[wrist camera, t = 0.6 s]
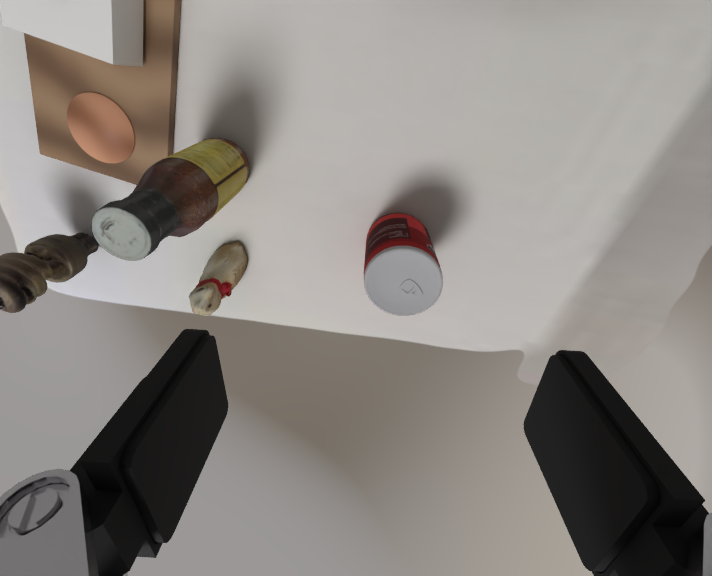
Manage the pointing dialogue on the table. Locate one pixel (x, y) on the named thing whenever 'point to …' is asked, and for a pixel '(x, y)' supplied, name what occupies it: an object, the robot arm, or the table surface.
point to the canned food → (401, 266)
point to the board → (109, 100)
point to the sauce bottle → (172, 198)
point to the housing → (83, 26)
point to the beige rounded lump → (218, 278)
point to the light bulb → (41, 267)
